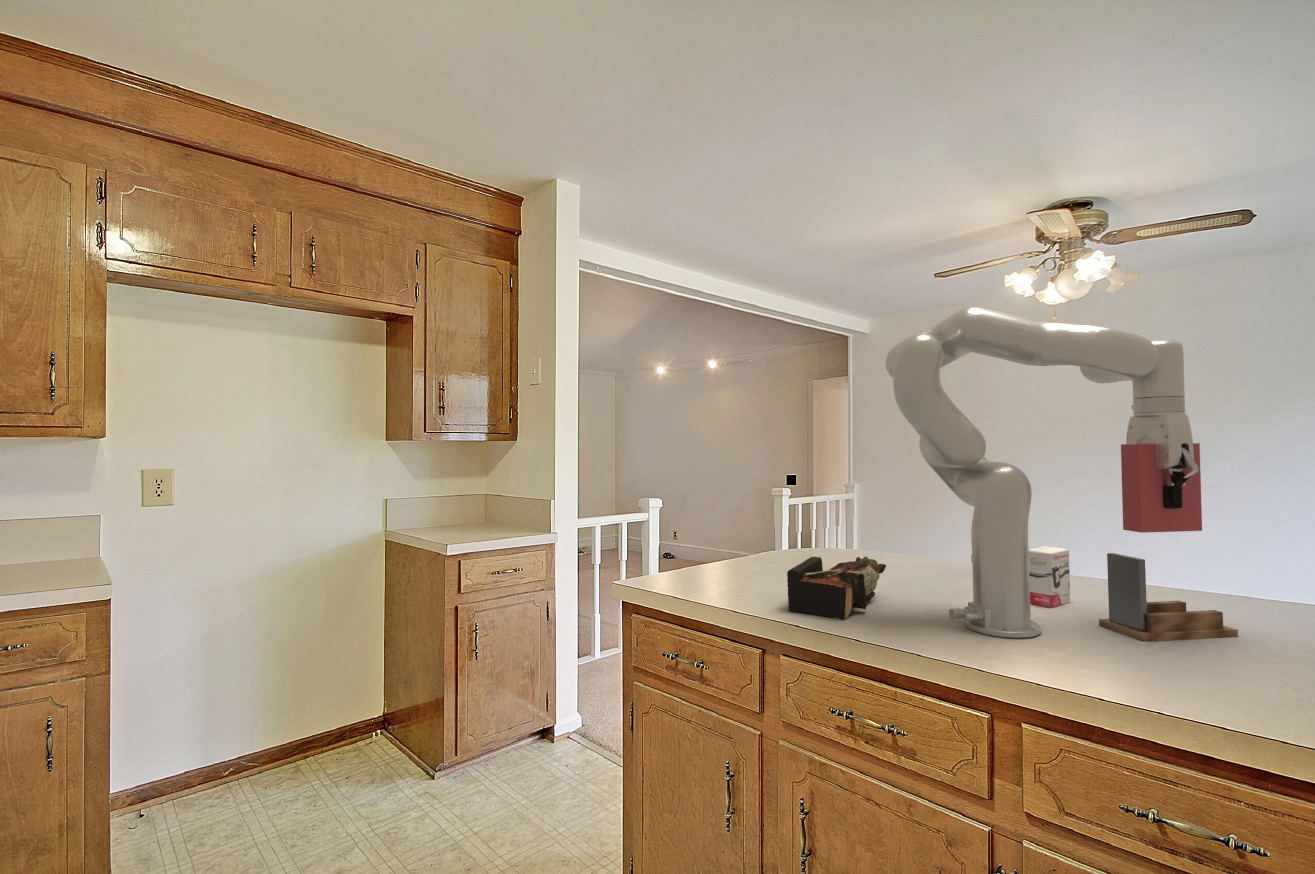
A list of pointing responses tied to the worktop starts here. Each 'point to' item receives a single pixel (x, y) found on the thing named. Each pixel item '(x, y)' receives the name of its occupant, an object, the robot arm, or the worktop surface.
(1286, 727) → the worktop surface
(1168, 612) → the book rack
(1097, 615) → the worktop surface
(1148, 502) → the book
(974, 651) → the worktop surface
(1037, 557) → the ink box
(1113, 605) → the steel bookend
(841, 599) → the bookend
